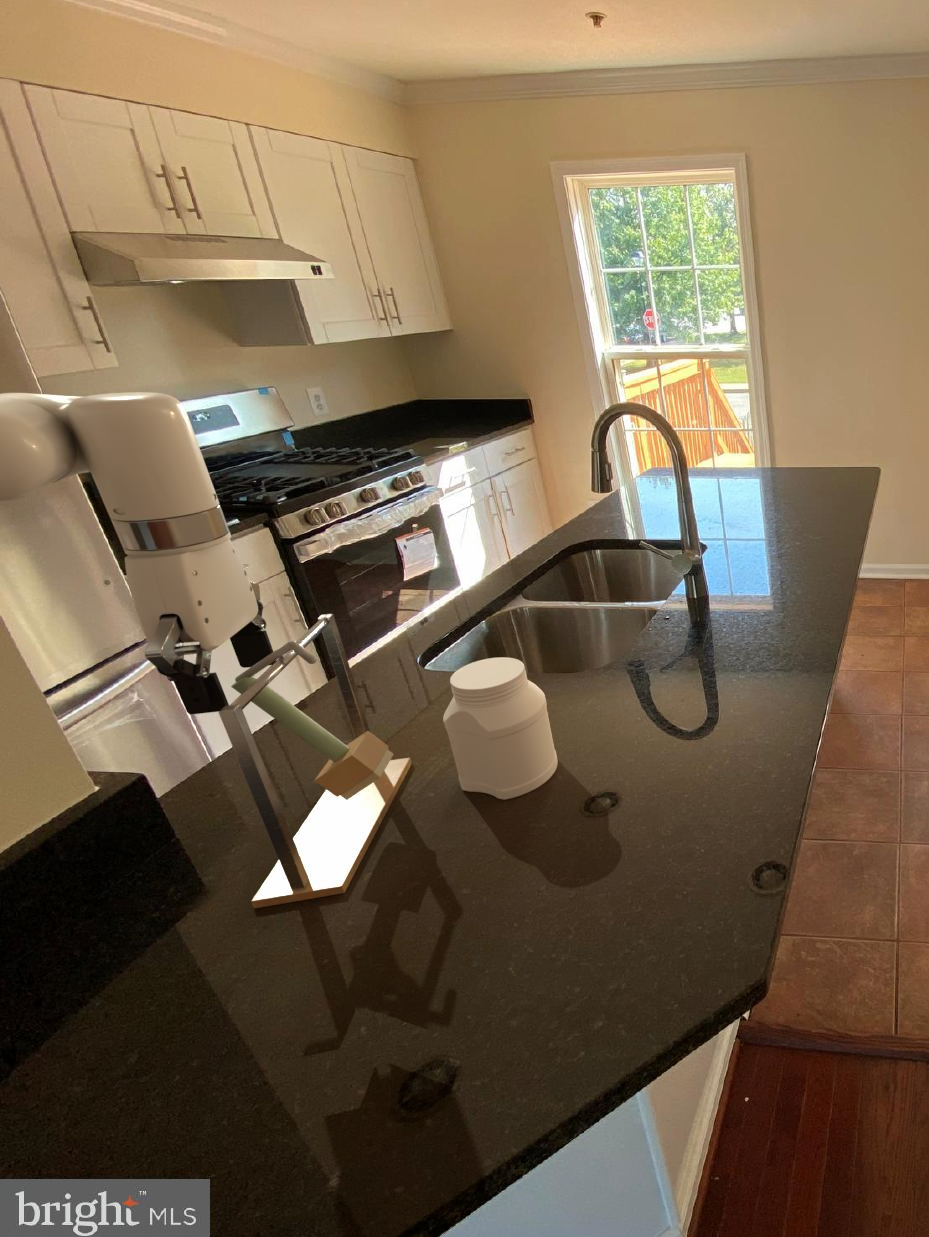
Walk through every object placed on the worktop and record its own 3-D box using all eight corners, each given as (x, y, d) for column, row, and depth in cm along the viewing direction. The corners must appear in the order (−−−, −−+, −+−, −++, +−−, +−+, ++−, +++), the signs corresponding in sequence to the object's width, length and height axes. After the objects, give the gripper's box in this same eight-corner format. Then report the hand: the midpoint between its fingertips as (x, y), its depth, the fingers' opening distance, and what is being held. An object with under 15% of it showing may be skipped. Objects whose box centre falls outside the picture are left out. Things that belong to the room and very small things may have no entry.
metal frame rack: (253, 909, 70) (169, 719, 61) (343, 772, 90) (289, 615, 81) (344, 893, 72) (275, 707, 63) (412, 763, 92) (367, 609, 83)
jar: (445, 786, 88) (417, 684, 82) (501, 745, 96) (479, 649, 90) (521, 804, 85) (497, 699, 79) (571, 759, 93) (553, 661, 87)
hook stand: (344, 802, 77) (203, 702, 69) (361, 775, 82) (229, 678, 74) (413, 755, 77) (280, 649, 70) (426, 731, 82) (302, 629, 74)
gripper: (181, 508, 72) (237, 654, 79) (54, 562, 57) (137, 738, 63) (266, 504, 74) (313, 646, 81) (165, 555, 59) (234, 726, 65)
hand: (235, 686), depth 72 cm, fingers open, 9 cm apart
